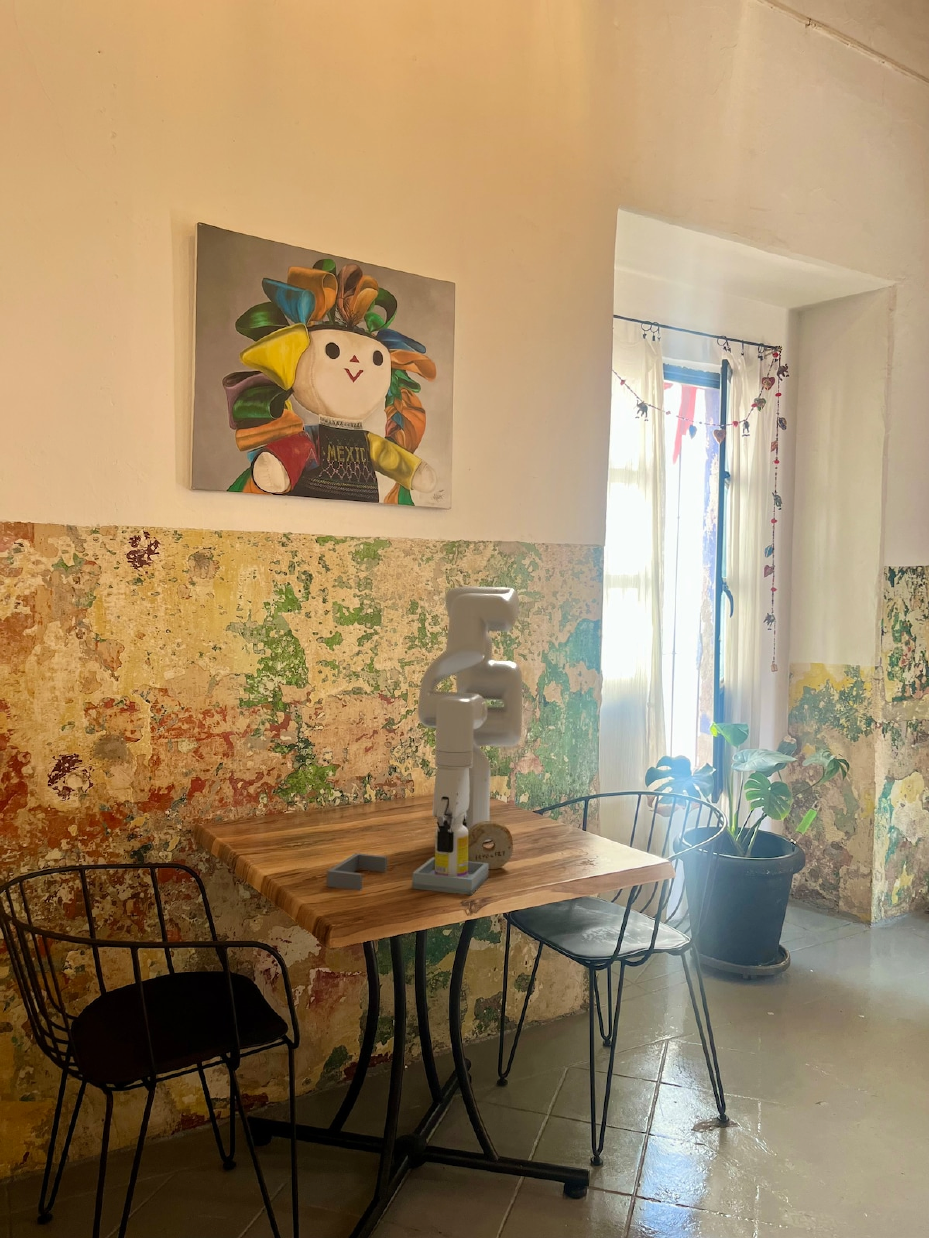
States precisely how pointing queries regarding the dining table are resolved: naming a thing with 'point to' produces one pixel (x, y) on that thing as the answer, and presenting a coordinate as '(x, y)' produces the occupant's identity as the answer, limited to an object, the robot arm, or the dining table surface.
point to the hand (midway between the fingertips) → (451, 845)
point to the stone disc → (495, 854)
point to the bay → (344, 871)
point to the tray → (450, 878)
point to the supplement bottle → (454, 852)
